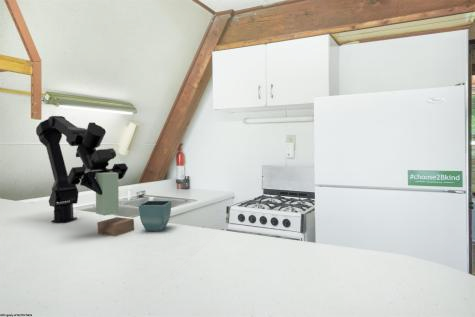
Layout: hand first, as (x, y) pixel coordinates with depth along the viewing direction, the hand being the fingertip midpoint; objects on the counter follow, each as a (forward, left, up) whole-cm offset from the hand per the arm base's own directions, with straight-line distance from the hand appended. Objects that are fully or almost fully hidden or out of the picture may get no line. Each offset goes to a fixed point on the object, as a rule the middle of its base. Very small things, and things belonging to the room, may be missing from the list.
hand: (109, 192), depth 112 cm
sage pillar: (0, -1, -7) cm, 7 cm away
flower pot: (-8, +12, -14) cm, 20 cm away
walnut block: (-3, 0, -14) cm, 14 cm away
